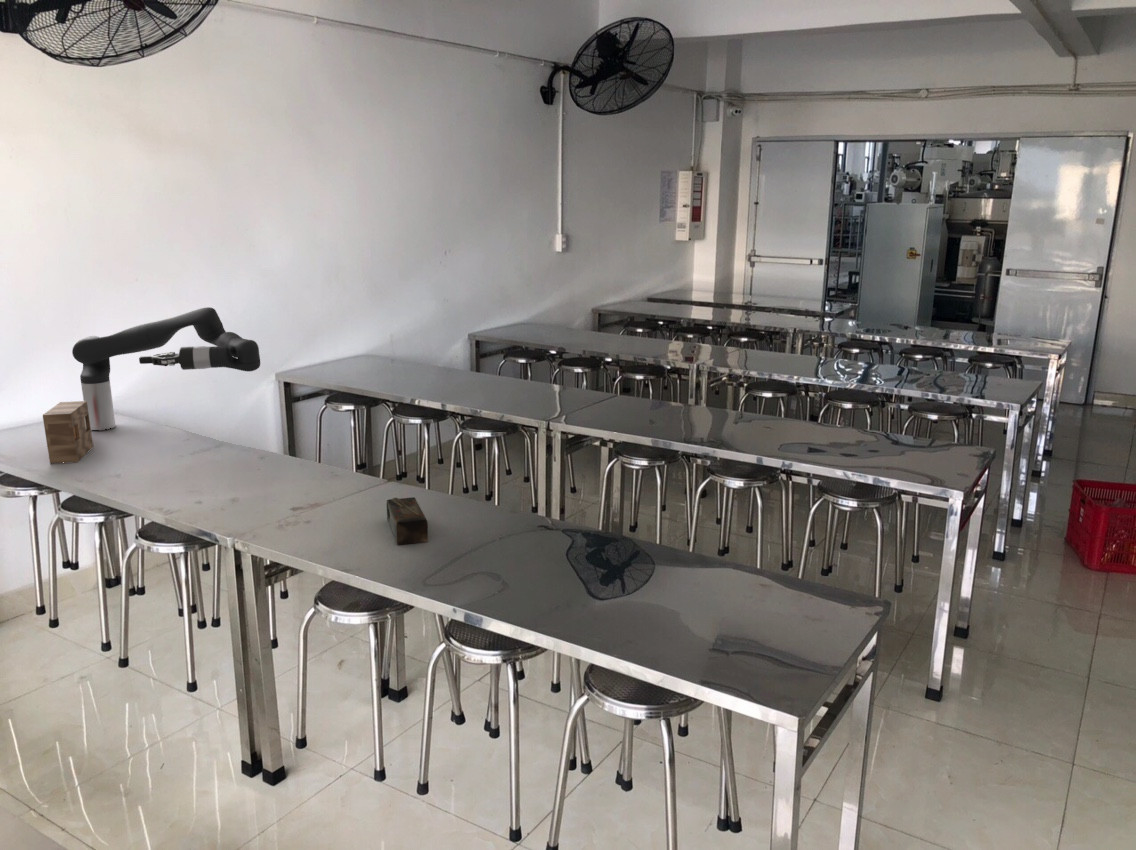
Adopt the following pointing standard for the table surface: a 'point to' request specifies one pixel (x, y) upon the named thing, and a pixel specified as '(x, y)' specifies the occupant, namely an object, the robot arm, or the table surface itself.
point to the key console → (67, 431)
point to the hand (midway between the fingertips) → (139, 360)
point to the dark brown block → (407, 521)
